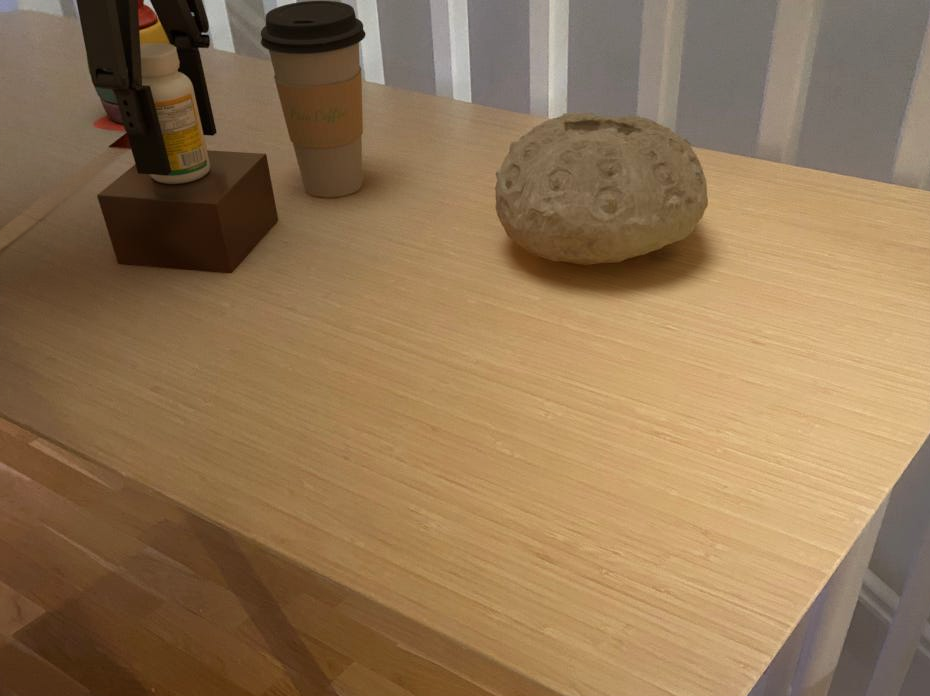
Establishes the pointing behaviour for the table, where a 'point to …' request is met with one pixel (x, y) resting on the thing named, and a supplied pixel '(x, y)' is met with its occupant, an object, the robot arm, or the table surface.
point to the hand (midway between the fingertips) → (178, 152)
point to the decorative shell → (599, 188)
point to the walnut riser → (192, 215)
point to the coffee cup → (320, 90)
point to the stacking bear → (148, 34)
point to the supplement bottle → (175, 114)
